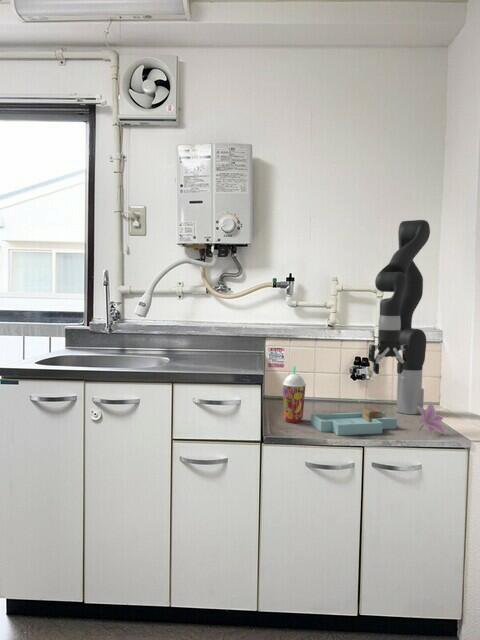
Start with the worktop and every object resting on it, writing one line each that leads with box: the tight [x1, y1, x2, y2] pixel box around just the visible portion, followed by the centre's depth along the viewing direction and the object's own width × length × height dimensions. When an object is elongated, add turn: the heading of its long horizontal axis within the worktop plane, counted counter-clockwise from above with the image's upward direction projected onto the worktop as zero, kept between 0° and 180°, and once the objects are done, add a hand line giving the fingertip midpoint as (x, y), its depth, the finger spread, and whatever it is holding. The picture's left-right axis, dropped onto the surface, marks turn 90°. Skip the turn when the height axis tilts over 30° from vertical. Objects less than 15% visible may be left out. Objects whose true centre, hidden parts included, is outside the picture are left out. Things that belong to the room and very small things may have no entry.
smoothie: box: [282, 365, 307, 424], centre depth 190 cm, size 8×8×20 cm
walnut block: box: [362, 407, 383, 422], centre depth 186 cm, size 5×5×4 cm
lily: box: [416, 401, 447, 437], centre depth 178 cm, size 12×12×10 cm
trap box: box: [310, 411, 398, 436], centre depth 182 cm, size 28×15×4 cm, turn 102°
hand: (388, 373), depth 187 cm, fingers open, 8 cm apart
